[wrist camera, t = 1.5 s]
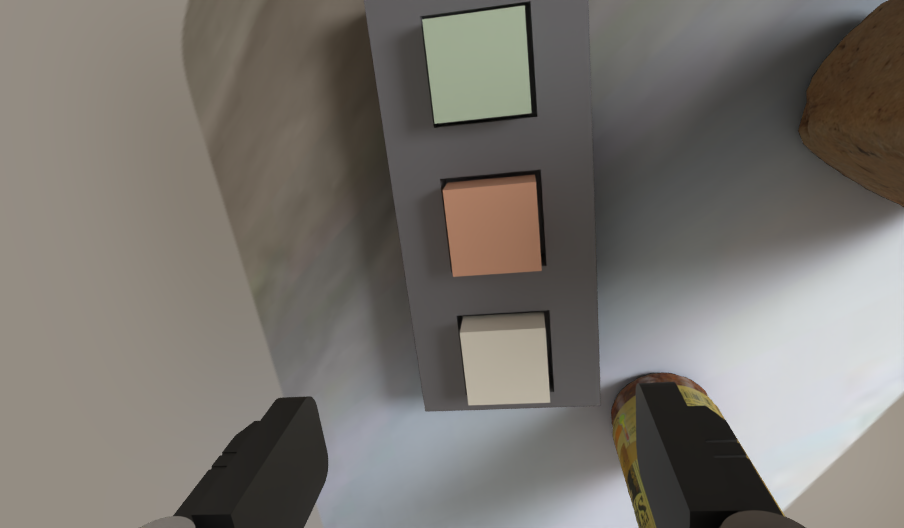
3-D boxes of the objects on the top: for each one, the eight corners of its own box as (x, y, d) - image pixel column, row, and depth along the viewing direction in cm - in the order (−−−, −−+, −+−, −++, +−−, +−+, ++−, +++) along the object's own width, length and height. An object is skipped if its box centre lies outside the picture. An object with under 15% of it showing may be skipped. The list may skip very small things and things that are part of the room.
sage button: (429, 23, 25) (422, 19, 24) (524, 10, 25) (524, 5, 23) (440, 120, 27) (434, 123, 25) (530, 110, 26) (531, 113, 24)
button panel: (379, 7, 28) (363, 0, 25) (579, -21, 26) (587, -33, 23) (432, 384, 35) (425, 411, 32) (593, 377, 33) (600, 405, 30)
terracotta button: (447, 182, 28) (442, 190, 26) (534, 174, 27) (536, 181, 25) (457, 263, 29) (452, 276, 27) (539, 257, 29) (541, 270, 27)
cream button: (463, 316, 30) (459, 332, 28) (543, 311, 30) (545, 327, 28) (471, 385, 32) (468, 405, 30) (548, 382, 31) (550, 402, 29)
